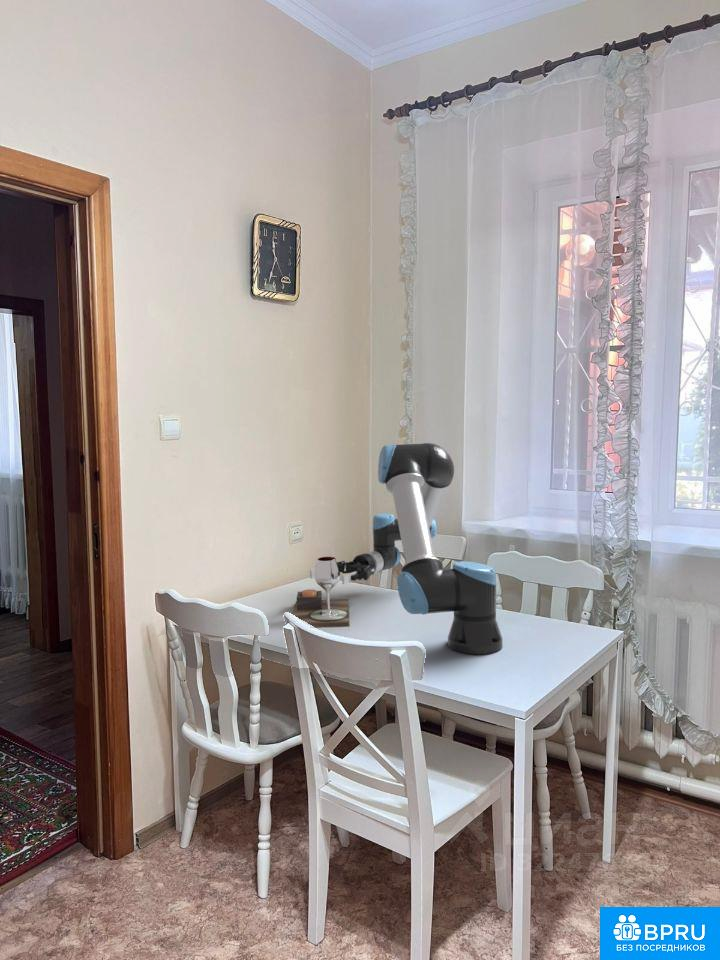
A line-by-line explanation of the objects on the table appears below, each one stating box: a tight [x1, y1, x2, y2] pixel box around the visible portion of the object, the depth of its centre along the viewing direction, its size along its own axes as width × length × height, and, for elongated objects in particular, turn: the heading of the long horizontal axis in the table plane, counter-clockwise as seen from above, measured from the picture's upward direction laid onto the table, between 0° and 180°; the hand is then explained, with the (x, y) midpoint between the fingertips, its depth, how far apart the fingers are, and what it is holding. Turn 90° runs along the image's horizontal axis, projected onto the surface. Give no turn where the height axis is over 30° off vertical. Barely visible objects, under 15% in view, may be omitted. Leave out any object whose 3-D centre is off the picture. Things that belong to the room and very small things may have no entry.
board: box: [292, 590, 350, 628], centre depth 233 cm, size 26×18×5 cm
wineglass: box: [313, 556, 341, 617], centre depth 228 cm, size 8×8×18 cm
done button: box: [301, 589, 318, 597], centre depth 239 cm, size 5×5×3 cm
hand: (326, 577), depth 227 cm, fingers open, 13 cm apart
